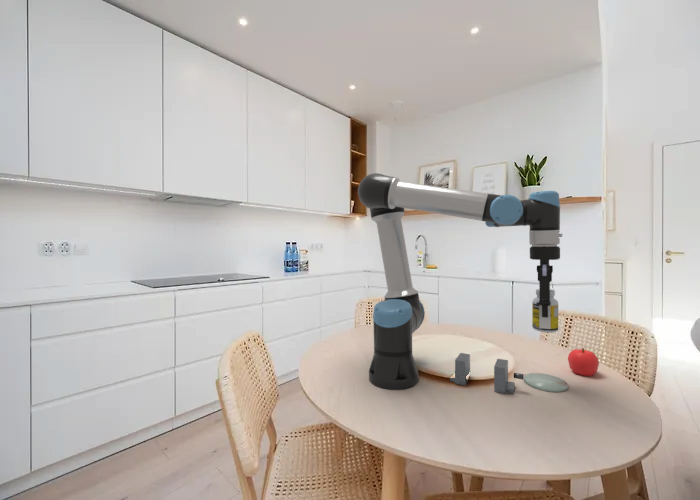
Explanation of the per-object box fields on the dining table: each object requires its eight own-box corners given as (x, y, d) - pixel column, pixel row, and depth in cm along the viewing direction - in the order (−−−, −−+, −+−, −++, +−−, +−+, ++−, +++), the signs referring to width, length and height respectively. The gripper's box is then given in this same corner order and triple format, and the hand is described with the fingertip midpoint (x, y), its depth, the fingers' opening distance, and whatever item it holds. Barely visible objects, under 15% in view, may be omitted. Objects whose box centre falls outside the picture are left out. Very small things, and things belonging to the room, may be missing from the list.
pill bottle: (527, 328, 97) (526, 289, 97) (544, 326, 99) (544, 288, 99) (546, 334, 91) (546, 292, 91) (564, 331, 93) (563, 291, 93)
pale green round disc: (522, 386, 94) (522, 384, 94) (525, 373, 103) (525, 370, 103) (569, 395, 88) (569, 392, 88) (567, 380, 98) (567, 377, 98)
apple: (567, 375, 101) (567, 349, 101) (567, 366, 108) (567, 342, 108) (600, 380, 97) (600, 353, 97) (598, 371, 104) (598, 346, 103)
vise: (449, 382, 98) (448, 358, 98) (454, 373, 104) (454, 351, 103) (522, 397, 88) (522, 371, 87) (524, 387, 94) (524, 362, 93)
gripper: (561, 246, 84) (561, 335, 85) (559, 244, 101) (559, 319, 101) (527, 246, 88) (528, 332, 89) (531, 245, 105) (531, 317, 105)
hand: (545, 325), depth 95 cm, fingers closed on pill bottle, 6 cm apart
